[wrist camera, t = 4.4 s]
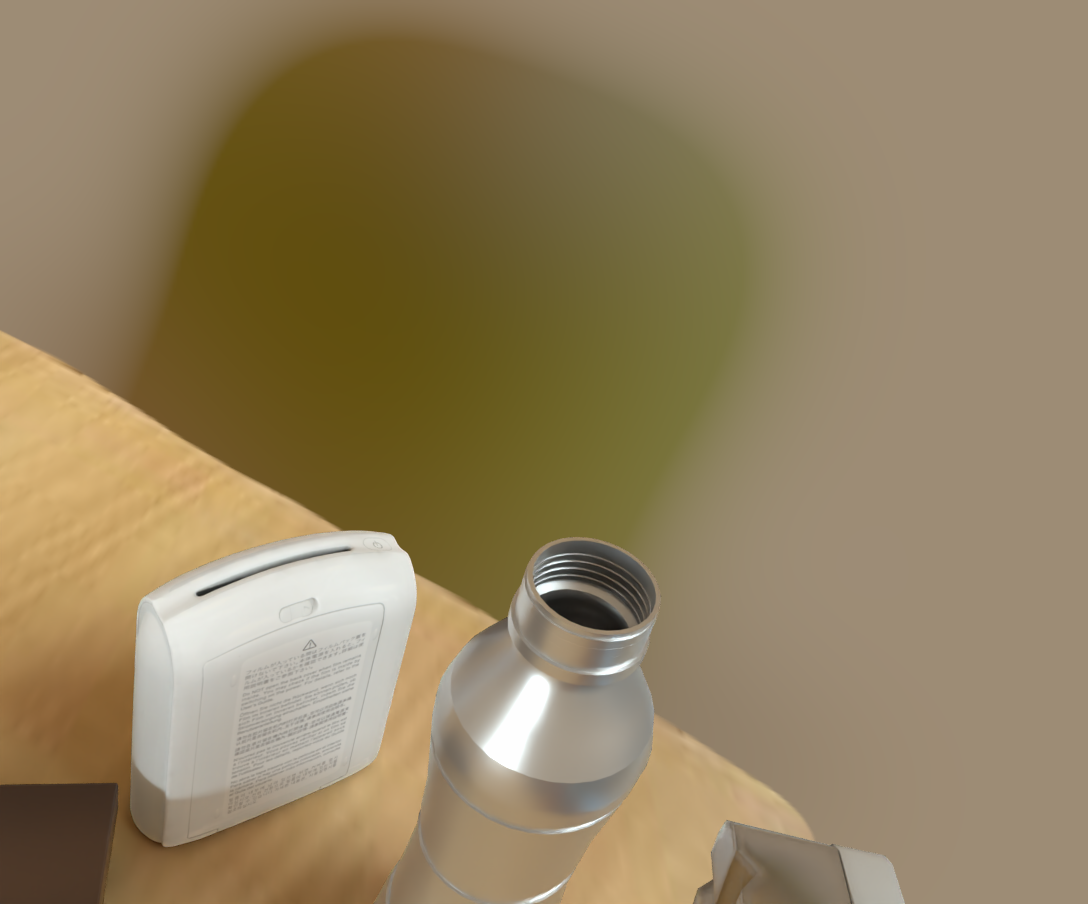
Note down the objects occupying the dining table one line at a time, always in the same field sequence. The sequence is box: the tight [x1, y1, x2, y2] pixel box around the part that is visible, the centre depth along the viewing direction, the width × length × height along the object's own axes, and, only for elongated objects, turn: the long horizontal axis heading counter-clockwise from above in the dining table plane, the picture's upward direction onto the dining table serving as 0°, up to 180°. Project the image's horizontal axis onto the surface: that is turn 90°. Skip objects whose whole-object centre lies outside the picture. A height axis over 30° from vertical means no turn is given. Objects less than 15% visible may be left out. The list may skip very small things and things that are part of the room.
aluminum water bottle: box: [373, 537, 661, 904], centre depth 32 cm, size 6×7×20 cm
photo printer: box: [130, 531, 416, 847], centre depth 38 cm, size 10×4×12 cm, turn 127°
